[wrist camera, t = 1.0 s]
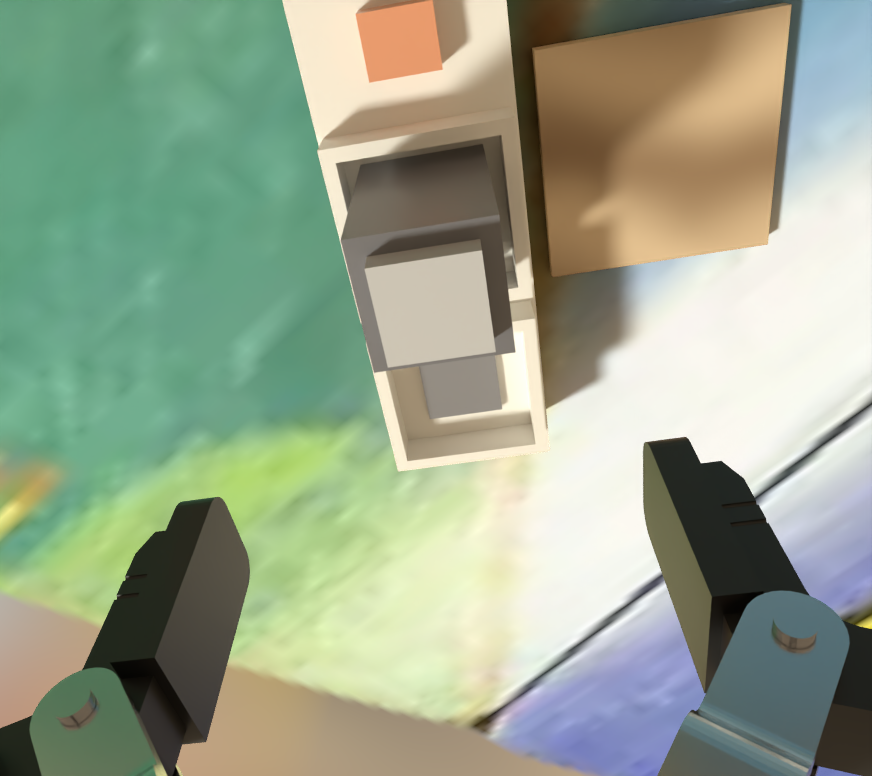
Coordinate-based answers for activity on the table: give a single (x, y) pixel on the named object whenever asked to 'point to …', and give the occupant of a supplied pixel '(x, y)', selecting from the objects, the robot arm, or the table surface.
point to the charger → (428, 260)
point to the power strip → (420, 134)
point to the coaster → (661, 139)
